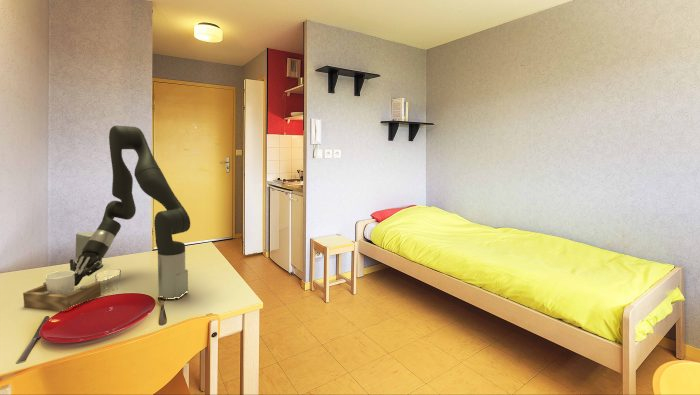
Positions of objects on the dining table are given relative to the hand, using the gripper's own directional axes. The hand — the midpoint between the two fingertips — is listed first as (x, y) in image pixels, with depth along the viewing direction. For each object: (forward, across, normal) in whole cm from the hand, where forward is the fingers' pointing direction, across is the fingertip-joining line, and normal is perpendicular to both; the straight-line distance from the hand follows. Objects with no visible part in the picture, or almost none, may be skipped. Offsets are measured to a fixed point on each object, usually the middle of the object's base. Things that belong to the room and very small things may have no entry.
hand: (72, 285), depth 124 cm
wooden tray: (+5, 0, +1) cm, 5 cm away
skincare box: (-15, -19, +22) cm, 33 cm away
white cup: (+6, 0, 0) cm, 6 cm away
